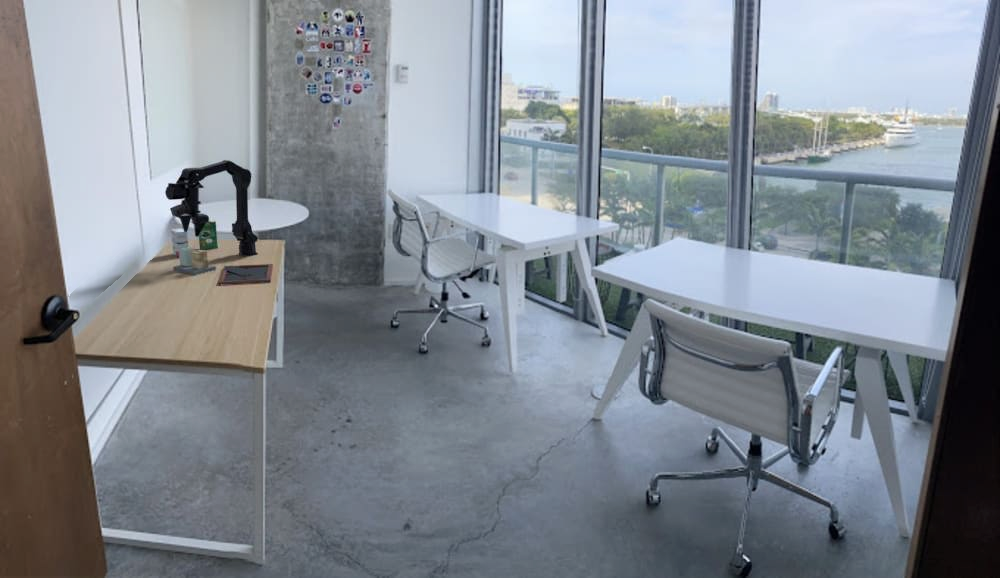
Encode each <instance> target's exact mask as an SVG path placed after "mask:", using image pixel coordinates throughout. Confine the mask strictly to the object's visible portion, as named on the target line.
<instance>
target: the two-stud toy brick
mask: <svg viewBox="0 0 1000 578" xmlns="http://www.w3.org/2000/svg"><path fill="white" fill-rule="evenodd" d="M192 251H196V250H195V247H185V248H181V249H179V257H178V258H179V265H183V266H191V265H192V258H191V252H192Z"/></svg>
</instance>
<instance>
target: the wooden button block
mask: <svg viewBox="0 0 1000 578" xmlns="http://www.w3.org/2000/svg"><path fill="white" fill-rule="evenodd" d="M191 258H192V267H193V268H196V269H203V268H207V267H208V265H209V259H208V251H207V250H205V249H201V250H200V249H196V250H195V251H192V252H191Z"/></svg>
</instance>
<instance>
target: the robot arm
mask: <svg viewBox="0 0 1000 578" xmlns="http://www.w3.org/2000/svg"><path fill="white" fill-rule="evenodd" d="M222 172H227V174H229V175H231V179H232V182H233V185H234V187H235V194H236V195H235V196H236V197H235V198H236V202H235V203H236V205H235V206H236V220H235V222H234V223H233V222H232V223H231V228H232V229H231V233H232V235H233V236H234V237H235V239H236V241H237V242H238V243H239V245H238V255H240V256H243V257H249V256H254V255H258V254H259V253H258V252H257V251H256V249H257V248H256V243H257V242H258V239H259V238H258V236H257V235H256V234H255V233H253V229H252V225H251V223H250V220H249V204H248V203H249V201H248V200H249V199H248V196H249V195H248V193H249V192H248V191H249V187H250V185H251V182H252V172H251V171H250V170H249V169H248V168H244V167H242V166H240V165H239V164H236V163H235V162H233V160H227V159H224V160H221V161H218V162H215V163H212V164H208V165H204V166H201V167H186V168H184V169H182V171H181V174H180V176H179V177H178V178H177V180H176V183H171V182H169V183H168V184H167V187H166V188H165V192H164V194H165V197H166V198H167V200H168V201H169V200H170V201H171V200H173V201H175V200H181V203H180V204H176V205H174V206H172V207H170V208H169V210H170V212H171V216H174V217H175V218H178V219H179V220H180V222H181V225H182V229H183V230H184V232H187V233H188V230H189V226H190V223H191V224H193V227H194V229H193V230H194V236H195V237H197V238H199V234H200V232H201V230H202V228H203V227H204V225H205V224H206V223H207V222H209V221H210V216H209V215H208V214H206V213H202V212H201V211H202V210H199V209H200V208H199V207H200V206H199V205H201V204H202V202H201V201H200V199H199V198H200V195H199V194H200V192H199V191H200V189H204V188H205V187H204V185H202V184H201V181H203V180H204V179H205V178H207V177H208V176H209V177H210V176H212V175H215V174H219V173H222Z"/></svg>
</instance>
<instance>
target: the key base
mask: <svg viewBox="0 0 1000 578" xmlns="http://www.w3.org/2000/svg"><path fill="white" fill-rule="evenodd" d="M172 268H173V271H175V272H179V273H180V272H181V273H184V274H187V273H188V275H191V274H192V276H198V275H201V273H202V274H206V273H209V272H212V270H213V271H216V270H217V266H216V265H211V264H208V267H207V268H203V269H196V268H193V267H192V265H191V266H183V265H180V264H179V265H176V266H173V267H172ZM208 271H209V272H208ZM205 272H206V273H205ZM197 274H198V275H197Z"/></svg>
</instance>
